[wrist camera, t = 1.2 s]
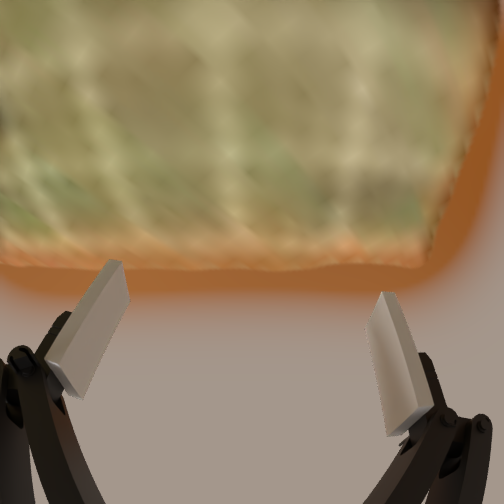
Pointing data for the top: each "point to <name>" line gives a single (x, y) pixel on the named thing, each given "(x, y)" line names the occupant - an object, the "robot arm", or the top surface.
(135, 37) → the top surface
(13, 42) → the top surface
